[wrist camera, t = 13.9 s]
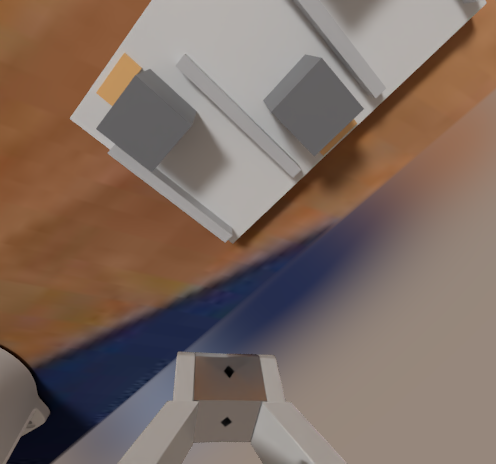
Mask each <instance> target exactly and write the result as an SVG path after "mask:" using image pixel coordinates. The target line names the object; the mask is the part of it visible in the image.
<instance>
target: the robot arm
mask: <svg viewBox="0 0 496 464" xmlns="http://www.w3.org/2000/svg"><path fill="white" fill-rule="evenodd" d="M49 415H50V410H49V409H48V407H47V406H46V405H45V404H44V402H43V401H42V400H41V399H40V398H39V396H38V393H37V388H36V384H35V381H34V378H33V377H32V375H31V373H30V372H29V370H28V369H27V368H26V367H25V366H24V365H23V364H22V363H21V362H20V361H19V360H18V359H17V358H15V357H14V356H13V355H11V354H10V353H8V352H7V351H5V350H3V349H2V348H0V464H6V462H7V461H8V459H9V457H10V455H11V453H12V452H13V450H14V448H15V446H16V444H17V443H18V441H19V439H20V437H21V436H23V435H25V434H27V433H28V432H30V431H32V430H34V429H35V428H37V427H39V426H40V425H42V424H44V423H45V421H46V420H47V418H48V416H49ZM198 442H199V443H200V442H251V445H252V447H253V448H254V450H255V452H256V453H257V455H258V456H259V458H260V460H261V461H262V463H263V464H347V463H346V462H345V461H344V459H343V458H341V456H340V455H339V454H338V453H337V452H336V451H335V450H334V449H333V448H332V446H331V445H330V444H329V443H328V442H327V441H326V440H325V439H324V438H323V437H322V436H321V435H320V433H319V432H318V431H317V430H316V429H315V428H314V427H313V426H312V425H311V424H310V423H309V421H308V420H307V419H306V418H305V417H304V416H303V415H302V414H301V413H300V412H299V410H298V409H296V407H295V406H294V405H293V404H292V403H291V402H286V400H285V396H284V391H283V387H282V382H281V378H280V374H279V369H278V365H277V361H276V357H275V356H274V355H256V354H214V353H198V352H195V353H192V352H178V354H177V362H176V373H175V382H174V392H173V401H167V402H166V404H165V405H164V406H163V407H162V409H161V410H160V411H159V412H158V414H157V415H156V416H155V418H154V419H153V420H152V421H151V422H150V424H149V425H148V426H147V427H146V429H145V430H144V431H143V432H142V434H141V435H140V436H139V437H138V438H137V440H136V441H135V442H134V443H133V445H132V446H131V447H130V448H129V450H128V451H127V452H126V453H125V455H124V456H123V457H122V458H121V460H120V461H119V462H118V463H117V464H182V462H183V461H184V459H185V457H186V455H187V454H188V452H189V450H190V449H191V447H192V445H193V443H198Z"/></svg>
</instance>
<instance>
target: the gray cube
mask: <svg viewBox="0 0 496 464" xmlns="http://www.w3.org/2000/svg"><path fill="white" fill-rule="evenodd" d="M196 112H197V111H196V110H195V109H194V108H192V107H191V106H190V105H189V104H188V103H187V102H186V101H185V100H184V99H183V98H182V97H180V96H179V95H178V94H177V93H176V92H175V91H174V90H173V89H172V88H171V87H169V86H168V85H167V84H166V83H165V82H164V81H163V80H162V79H161V78H160V77H159V76H157V75H156V74H155V73H154V72H153V71H152V70H151V69H148V70H146V71H144V72H141V73H139V74H137V75H135V76H134V78H133V79H132V80H131V82H130V83H129V84H128V86H127V87H126V88H125V90H124V91H123V93H122V94H121V95H120V97H119V98H118V99H117V101H116V102H115V103H114V105H113V106H112V108H111V109H110V110H109V112H108V113H107V114H106V116H105V117H104V118H103V120H102V121H101V122H100V124H99V125H98V127H97V128H96V129H97V130H98V131H99V132H100V133H102V134H103V135H104V136H106V137H107V138H108V139H109V140H111V141H112V142H113V143H115V144H116V145H117V146H118V147H120V148H121V149H122V150H124V151H125V152H126V153H127V154H129V155H130V156H131V157H133V158H134V159H135V160H136V161H138V162H139V163H140V164H142V165H143V166H144V167H145V168H147V169H148V170H149V171H151V172H153V171H154V169H155V168H156V167H157V166H158V165H159V164H160V162H161V161H162V160H163V159H164V158H165V157H166V155H167V154H168V153H169V152H170V151H171V149H172V148H173V147H174V146H175V145H176V144H177V142H178V141H179V140H180V139H181V138H182V137H183V135H184V134H185V133H186V132H187V131H188V129H189V128H190V127H191V126H192V124H193V121H194V118H195V115H196Z"/></svg>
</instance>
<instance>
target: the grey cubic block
mask: <svg viewBox="0 0 496 464" xmlns="http://www.w3.org/2000/svg"><path fill="white" fill-rule="evenodd" d="M263 101H264V102H265V104H266V105H267V107H268V108H269V110H270V111H271V113H272V114H273V115H274V116H275V117H276V118H277V119H278V120H279V121H280V122H281V123H282V124H283V125H284V126H285V127H286V128H287V129H288V130H289V131H290V132H291V133H292V134H293V135H294V136H295V137H296V138H297V139H298V140H299V141H300V142H301V143H302V145H303V146H304V147H305V148H306V149H307V150H308V151H309V152H310V153H311V154H312V155H313V156H316V155H317V154H318V153H319V152H320V151H321V150H322V149H323V148H324V147H325V146H326V145H327V144H328V143H329V142H330V141H331V140H332V139H333V138H334V137H335V136H336V135H337V134H338V133H340V132H341V131H342V130H343V129H344V128H345V127H346V126H347V125H348V124H349V123H350V122H351V121H352V120H353V119H354V118H355V117H356V116H357V115H358V114H359V113H360V112H361V111H362V110H364V108H363V107H362V106H361V105H360V103H359V102H358V101H357V100H356V99H355V97H354V96H353V95H352V94H351V92H350V91H349V90H348V89H347V88H346V86H345V85H344V84H343V83H342V82H341V80H340V79H339V78H338V77H337V76H336V74H335V73H334V72H333V71H332V69H331V68H330V67H329V66H328V65H327V63H326V62H325V61H324V60H323V59H322V58H321V57H316V56H311V55H306V54H305V55H304V56H303V57H302V58H301V59H300V61H299V62H298V63H297V64H296V65H295V66H294V67H293V68H292V69H291V70H290V72H289V73H288V74H287V75H286V76H285V77H284V78H283V79H282V80H281V81H280V82H279V84H278V85H277V86H276V87H275V88H274V89H273V90H272V91H271V92H270V93H269V95H268V96H267V97H266V98H265V99H264V100H263Z"/></svg>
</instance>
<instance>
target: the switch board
mask: <svg viewBox="0 0 496 464" xmlns="http://www.w3.org/2000/svg"><path fill="white" fill-rule="evenodd" d="M485 4H486V1H485V0H152V1H151V2H150V4H149V5H148V6H147V8H146V9H145V11H144V12H143V14H142V15H141V17H140V18H139V19H138V21H137V22H136V24H135V25H134V27H133V28H132V29H131V31H130V32H129V34H128V35H127V37H126V38H125V40H124V41H123V42H122V44H121V45H120V47H119V48H118V50H117V51H116V53H115V54H114V55H113V57H112V58H111V60H110V61H109V63H108V64H107V66H106V67H105V68H104V70H103V71H102V73H101V74H100V76H99V77H98V78H97V80H96V81H95V83H94V84H93V86H92V87H91V89H90V90H89V91H88V93H87V94H86V96H85V97H84V99H83V100H82V102H81V103H80V104H79V106H78V107H77V109H76V110H75V112H74V113H73V115H72V116H71V117H70V119H71V120H72V121H73V122H75V123H76V124H77V125H79V126H80V127H81V128H83V129H84V130H85V131H86V132H88V133H89V134H90V135H92V136H93V137H94V138H96V139H97V140H98V141H100V142H101V143H102V144H103V145H105V146H106V147H107V148H109V149H110V151H109V152H108V154H109V155H110V156H112V157H113V158H114V159H116V160H117V161H118V162H119V163H121V164H122V165H123V166H125V167H126V168H127V169H129V170H130V171H131V172H133V173H134V174H135V175H137V176H138V177H139V178H141V179H142V180H143V181H145V182H146V183H147V184H149V185H150V186H151V187H152V188H154V189H155V190H156V191H158V192H159V193H160V194H162V195H163V196H164V197H166V198H167V199H168V200H170V201H171V202H172V203H174V204H175V205H176V206H178V207H179V208H180V209H181V210H183V211H184V212H185V213H187V214H188V215H189V216H191V217H192V218H193V219H195V220H196V221H197V222H199V223H200V224H201V225H203V226H204V227H205V228H207V229H208V230H209V231H211V232H212V233H213V234H214V235H216V236H217V237H218V238H220V239H221V240H222V241H224V242H226V241H227V240H229V241H230V242H232V243H234V242H235V241H236V240H237V239H238V238H239V237H240V236H241V235H242V234H243V233H244V232H245V231H247V230H248V229H249V228H250V227H251V226H252V225H253V224H254V223H255V222H256V221H257V220H258V219H259V218H260V217H261V216H262V215H263V214H264V213H266V212H267V211H268V210H269V209H270V208H271V207H272V206H273V205H274V204H275V203H276V202H277V201H278V200H279V199H280V198H281V197H282V196H284V195H285V194H286V193H287V192H288V191H289V190H290V189H291V188H292V187H293V186H294V185H295V184H296V183H297V182H298V181H299V180H300V179H301V178H303V177H304V176H305V175H306V174H307V173H308V172H309V171H310V170H311V169H312V168H313V167H314V166H315V165H316V164H317V163H318V162H319V161H320V160H322V159H323V158H324V157H325V156H326V155H327V154H328V153H329V152H330V151H331V150H332V149H333V148H334V147H335V146H336V145H337V144H338V143H340V142H341V141H342V140H343V139H344V138H345V137H346V136H347V135H348V134H349V133H350V132H351V131H352V130H353V129H354V128H355V127H356V126H357V125H359V124H360V123H361V122H362V121H363V120H364V119H365V118H366V117H367V116H368V115H369V114H370V113H371V112H372V111H373V110H374V109H375V108H376V107H378V106H379V105H380V104H381V103H382V102H383V101H384V100H385V99H386V98H387V97H388V96H389V95H390V94H391V93H392V92H393V91H394V90H395V89H397V88H398V87H399V86H400V85H401V84H402V83H403V82H404V81H405V80H406V79H407V78H408V77H409V76H410V75H411V74H412V73H413V72H415V71H416V70H417V69H418V68H419V67H420V66H421V65H422V64H423V63H424V62H425V61H426V60H427V59H428V58H429V57H430V56H431V55H432V54H434V53H435V52H436V51H437V50H438V49H439V48H440V47H441V46H442V45H443V44H444V43H445V42H446V41H447V40H448V39H449V38H450V37H451V36H453V35H454V34H455V33H456V32H457V31H458V30H459V29H460V28H461V27H462V26H463V25H464V24H465V23H466V22H467V21H468V20H469V19H471V18H472V17H473V16H474V15H475V14H476V13H477V12H478V11H479V10H480V9H481V8H482V7H483V6H484V5H485ZM305 54H306V55H311V56H316V57H321V58H322V59H323V60H324V61H325V62H326V63H327V65H328V66H329V67H330V68H331V69H332V71H333V72H334V73H335V74H336V76H337V77H338V78H339V79H340V80H341V82H342V83H343V84H344V85H345V86H346V88H347V89H348V90H349V91H350V92H351V94H352V95H353V96H354V97H355V99H356V100H357V101H358V102H359V103H360V105H361V106H362V107H363V108H364V110H362V111H361V112H360V113H359V114H358V115H357V116H356V117H355V118H354V119H353V120H352V121H351V122H350V123H349V124H348V125H347V126H346V127H345V128H344V129H343V130H342V131H341V132H340V133H338V134H337V135H336V136H335V137H334V138H333V139H332V140H331V141H330V142H329V143H328V144H327V145H326V146H325V147H324V148H323V149H322V150H321V151H320V152H319V153H318V154H317V155H316V156H313V155H312V154H311V153H310V152H309V151H308V150H307V149H306V148H305V147H304V146H303V145H302V143H301V142H300V141H299V140H298V139H297V138H296V137H295V136H294V135H293V134H292V133H291V132H290V131H289V130H288V129H287V128H286V127H285V126H284V125H283V124H282V123H281V122H280V121H279V120H278V119H277V118H276V117H275V116H274V115H273V114H272V113H271V111H270V110H269V108H268V107H267V105H266V104H265V102H264V101H263V100H264V99H265V98H266V97H267V96H268V95H269V93H270V92H271V91H272V90H273V89H274V88H275V87H276V86H277V85H278V84H279V82H280V81H281V80H282V79H283V78H284V77H285V76H286V75H287V74H288V73H289V72H290V70H291V69H292V68H293V67H294V66H295V65H296V64H297V63H298V62H299V61H300V59H301V58H302V57H303V56H304V55H305ZM148 69H151V70H152V71H153V72H154V73H155V74H156V75H157V76H159V77H160V78H161V79H162V80H163V81H164V82H165V83H166V84H167V85H168V86H169V87H171V88H172V89H173V90H174V91H175V92H176V93H177V94H178V95H179V96H180V97H182V98H183V99H184V100H185V101H186V102H187V103H188V104H189V105H190V106H191V107H192V108H194V109H195V110H196V111H197V112H196V115H195V118H194V121H193V124H192V126H191V127H190V128H189V129H188V131H187V132H186V133H185V134H184V135H183V137H182V138H181V139H180V140H179V141H178V142H177V144H176V145H175V146H174V147H173V148H172V149H171V151H170V152H169V153H168V154H167V155H166V157H165V158H164V159H163V160H162V161H161V162H160V164H159V165H158V166H157V167H156V168H155V169H154V171H153V172H151V171H149V170H148V169H147V168H145V167H144V166H143V165H142V164H140V163H139V162H138V161H136V160H135V159H134V158H133V157H131V156H130V155H129V154H127V153H126V152H125V151H124V150H122V149H121V148H120V147H118V146H117V145H116V144H115V143H113V142H112V141H111V140H109V139H108V138H107V137H106V136H104V135H103V134H102V133H100V132H99V131H98V130H97V129H96V128H97V127H98V125H99V124H100V122H101V121H102V120H103V118H104V117H105V116H106V114H107V113H108V112H109V110H110V109H111V108H112V106H113V105H114V103H115V102H116V101H117V99H118V98H119V97H120V95H121V94H122V93H123V91H124V90H125V88H126V87H127V86H128V84H129V83H130V82H131V80H132V79H133V78H134V76H135V75H137V74H139V73H141V72H144V71H146V70H148Z"/></svg>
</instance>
